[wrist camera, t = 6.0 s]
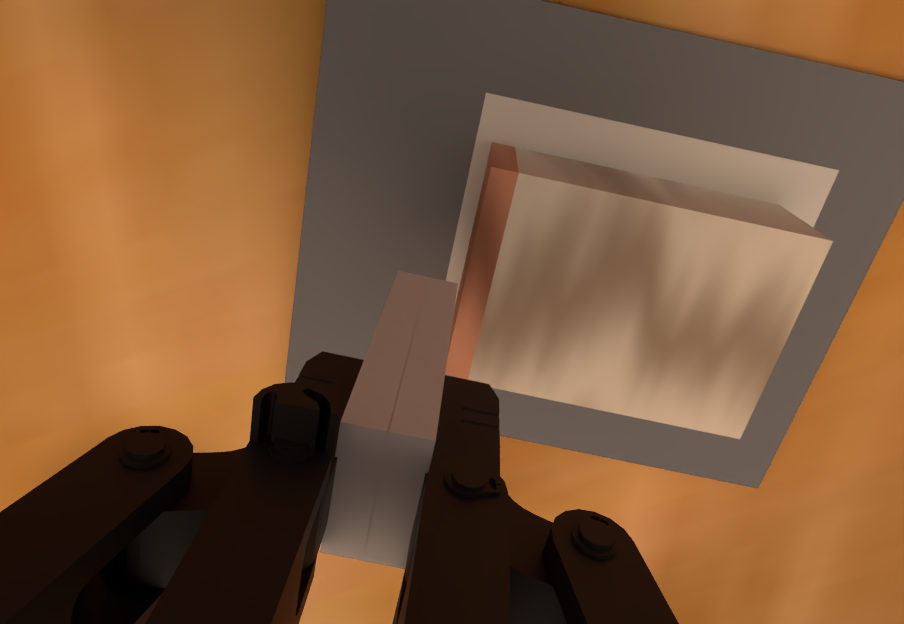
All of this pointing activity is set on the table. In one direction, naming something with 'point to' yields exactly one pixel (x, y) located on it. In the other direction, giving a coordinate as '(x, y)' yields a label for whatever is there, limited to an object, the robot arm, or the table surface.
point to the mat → (588, 140)
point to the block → (628, 291)
